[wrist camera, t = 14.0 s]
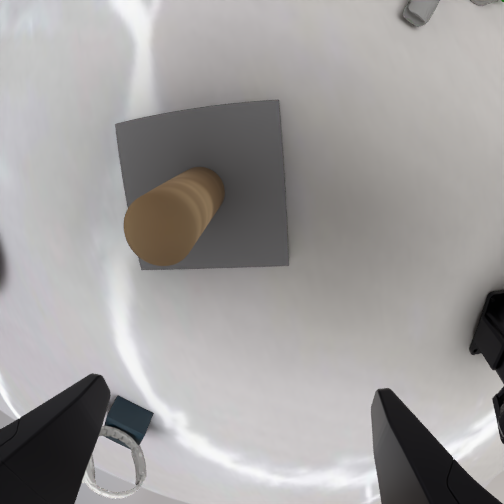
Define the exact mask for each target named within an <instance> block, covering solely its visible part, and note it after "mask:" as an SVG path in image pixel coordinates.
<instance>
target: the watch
mask: <svg viewBox="0 0 504 504" xmlns="http://www.w3.org/2000/svg"><path fill="white" fill-rule="evenodd" d="M152 416H153V413H152V412H150V411H148V410H146V409H144V408H142V407H140V406H138V405H136V404H134V403H132V402H130V401H128V400H126V399H124V398H122V397H120V396H117V398H116V400H115V402H114V403H113V405H112V407H111V409H110V411H109V413H108V415H107V418H106V422H105V425H104V426H102V428H101V431H100V434H99V436H102V435H103V436H105V437H107V438H108V439H110V440H112V441H114V442H116V443H118V444H120V445H122V446H124V447H127V448H129V449H131V450H132V452H131V453H132V457H133V460H134V464H135V469H136V483H135V484H136V485H137V486H136V487H135V488H133V489H131V490H129V491H126V492H118V493H117V492H112V491H109V492H108V490H105V489H102V488H100V487H99V486H97V485H96V481H95V470H94V462H93V455H91V458H90V460H89V463H88V466H87V469H86V471H85V474H84V477H83V480H82V483H85V482H86V484H87V485H88V487H89V488H90V489H91V490H92V491H93V492H95V493H97V494H99V495H101V496H104V497H107V498H112V499H115V498H116V499H120V498H125V497H128V496H131V495H132V494H134V493H135V492H136V491H137V490H138V489H139V488H140V487H141V485H142V484H143V481H144V480H145V478H146V464H145V459H144V455H143V452H142V449H141V447H140V446H139V445H140V443H141V441H142V439H143V437H144V436H145V433H146V431H147V428H148V426H149V423H150V421H151V418H152Z"/></svg>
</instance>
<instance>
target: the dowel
mask: <svg viewBox="0 0 504 504" xmlns="http://www.w3.org/2000/svg"><path fill="white" fill-rule="evenodd" d="M224 196H225V189H224V185H223V182H222V180H221V178H220V177H219V176H218V175H217V174H216V173H215V172H214V171H212V170H210V169H208V168H205V167H194V168H191V169H188V170H187V171H185V172H183V173H181V174H179V175H177V176H176V177H174V178H172V179H170V180H168V181H167V182H165V183H163V184H161V185H159V186H158V187H156V188H154V189H152V190H151V191H149V192H147V193H146V194H144V195H142V196H141V197H139V198H137V199H136V200H135V201H134V202H133V203H132V204H131V205H130V206H129V208H128V210H127V212H126V214H125V218H124V233H125V237H126V240H127V242H128V244H129V246H130V248H131V249H132V250H133V252H134V253H135V254H136V255H137V256H138V257H140V258H141V259H142V260H144V261H146V262H148V263H150V264H153V265H157V266H170V265H174V264H176V263H178V262H180V261H182V260H183V259H184V258H185V257H186V256H187V255H188V254H189V252H190V251H191V249H192V248H193V246H194V245H195V243H196V242H197V240H198V239H199V237H200V236H201V234H202V233H203V231H204V230H205V228H206V227H207V225H208V224H209V222H210V221H211V219H212V218H213V216H214V215H215V213H216V212H217V210H218V209H219V207H220V206H221V204H222V202H223V200H224Z"/></svg>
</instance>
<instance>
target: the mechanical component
mask: <svg viewBox="0 0 504 504" xmlns="http://www.w3.org/2000/svg"><path fill="white" fill-rule="evenodd" d="M439 1H440V0H410V1H409V3H408V4H407V6H406V7H405V9H404V12H403V16H404V18H405V19H406V20H407V21H408V22H410V23H411V24H413V25H415V26H417V27H419V26H422V25H424V24H426V23H427V22H428V21H429V19H430V18H431V16H432V14H433V12H434V10H435V9H436V7H437V5H438V3H439ZM471 1H472V2H473V3H475V4H477V5H480V6H484V5H486V4H489V3H492V2H495V1H497V0H471ZM501 1H502V2H504V0H501Z"/></svg>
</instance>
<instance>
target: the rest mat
mask: <svg viewBox="0 0 504 504" xmlns="http://www.w3.org/2000/svg"><path fill="white" fill-rule="evenodd" d="M115 127H116V135H117V143H118V151H119V158H120V164H121V171H122V177H123V183H124V189H125V195H126V200H127V206H128V208H129V206H130V205H131V204H132V203H133V202H134V201H135V200H136V199H137V198H139V197H141V196H142V195H144V194H146V193H147V192H149V191H151V190H152V189H154V188H156V187H158V186H159V185H161V184H163V183H165V182H167V181H168V180H170V179H172V178H174V177H176V176H177V175H179V174H181V173H183V172H185V171H187V170H188V169H191V168H194V167H205V168H208V169H210V170H212V171H214V172H215V173H216V174H217V175H218V176H219V177H220V178H221V180H222V182H223V185H224V189H225V196H224V200H223V202H222V204H221V206H220V207H219V209H218V210H217V212H216V213H215V215H214V216H213V218H212V219H211V221H210V222H209V224H208V225H207V227H206V228H205V230H204V231H203V233H202V234H201V236H200V237H199V239H198V240H197V242H196V243H195V245H194V246H193V248H192V249H191V251H190V252H189V254H188V255H187V256H186V257H185V258H184V259H183V260H182V261H180V262H178V263H176V264H174V265H170V266H157V265H153V264H150V263H148V262H146V261H144V260H142V259H141V258H140V257H138V258H139V262H140V266H141V270H166V269H204V268H237V267H266V266H289V257H288V233H287V213H286V195H285V178H284V162H283V148H282V134H281V121H280V108H279V100H267V101H254V102H242V103H233V104H224V105H216V106H208V107H201V108H194V109H187V110H181V111H175V112H170V113H164V114H159V115H154V116H149V117H144V118H139V119H134V120H130V121H126V122H121V123H117V124H115Z"/></svg>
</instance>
